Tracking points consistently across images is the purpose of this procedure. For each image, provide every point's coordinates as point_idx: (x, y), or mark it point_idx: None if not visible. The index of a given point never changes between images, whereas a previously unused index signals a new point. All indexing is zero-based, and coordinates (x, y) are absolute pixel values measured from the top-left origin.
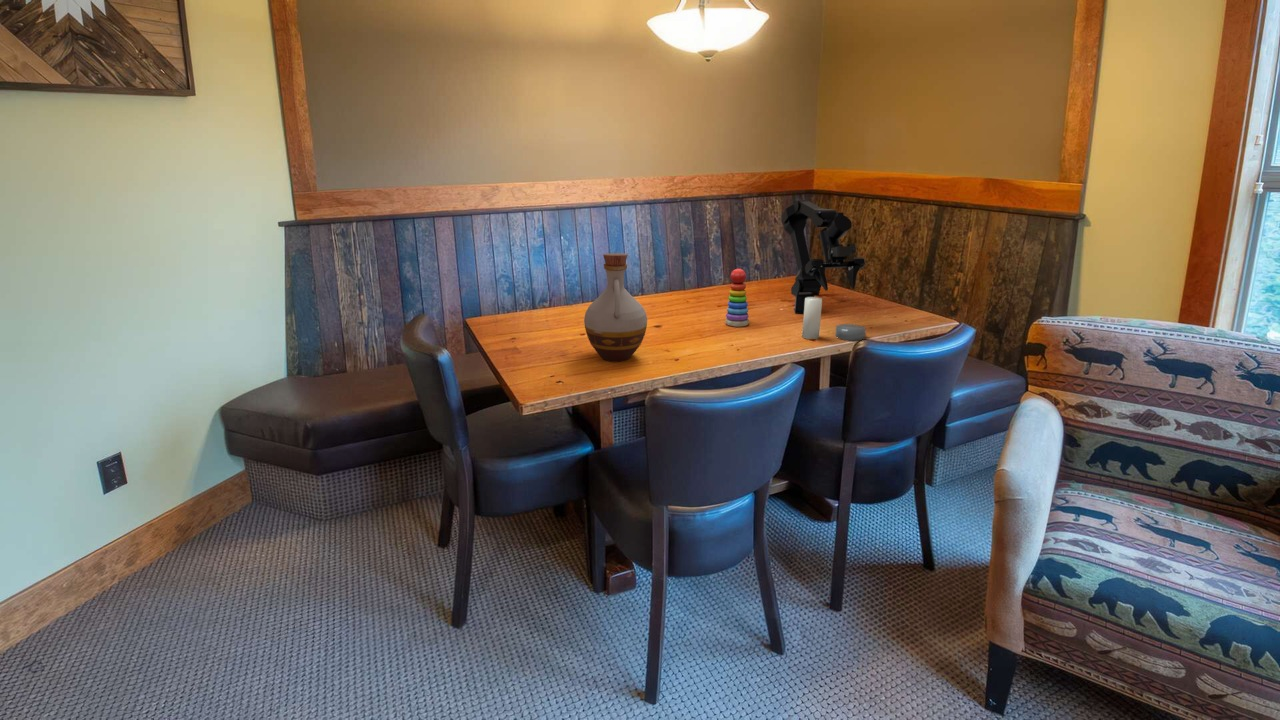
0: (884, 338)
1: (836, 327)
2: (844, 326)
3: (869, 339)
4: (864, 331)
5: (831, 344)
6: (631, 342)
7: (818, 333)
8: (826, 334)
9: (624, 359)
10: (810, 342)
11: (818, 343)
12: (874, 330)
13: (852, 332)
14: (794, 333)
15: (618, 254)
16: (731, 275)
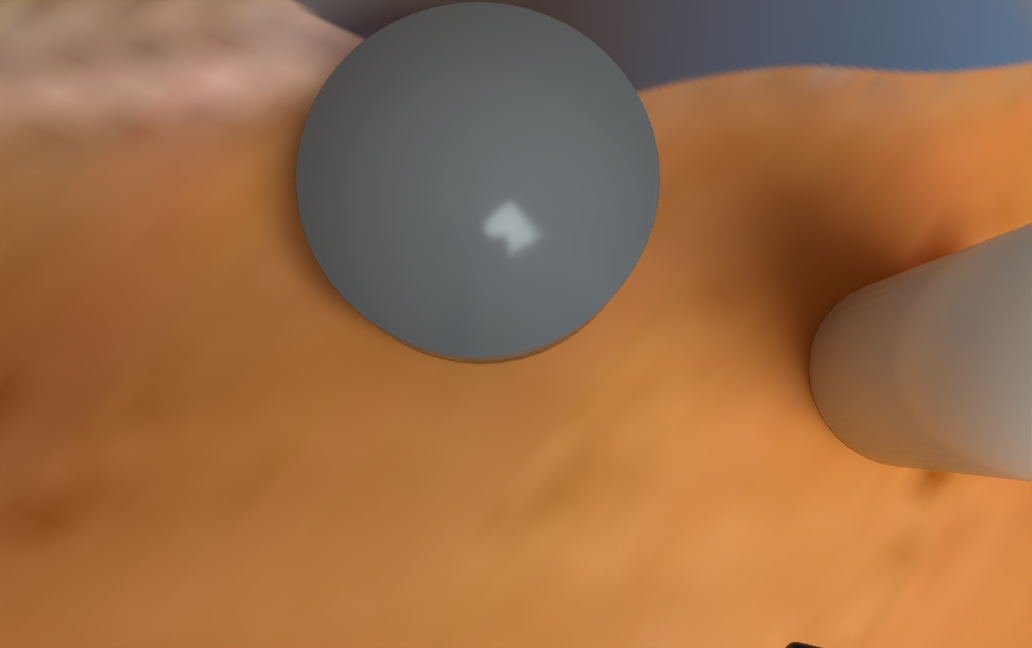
0: (173, 20)
1: (633, 263)
2: (508, 258)
3: None
4: (401, 26)
5: (843, 72)
6: None
7: (886, 278)
8: (655, 400)
9: None
10: (1009, 217)
11: (950, 154)
12: (28, 310)
13: (577, 34)
14: (981, 589)
15: None
16: None
